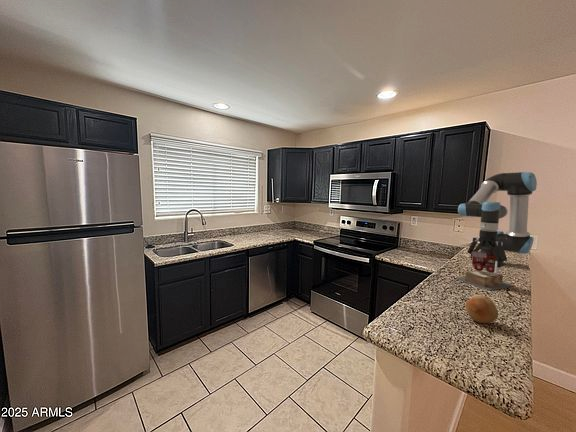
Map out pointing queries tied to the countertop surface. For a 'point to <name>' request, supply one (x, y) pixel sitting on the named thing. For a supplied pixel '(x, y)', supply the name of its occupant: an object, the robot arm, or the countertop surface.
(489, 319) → the onion
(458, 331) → the countertop surface
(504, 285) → the build mat
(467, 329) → the countertop surface
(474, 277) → the plinth
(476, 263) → the toy fire truck
